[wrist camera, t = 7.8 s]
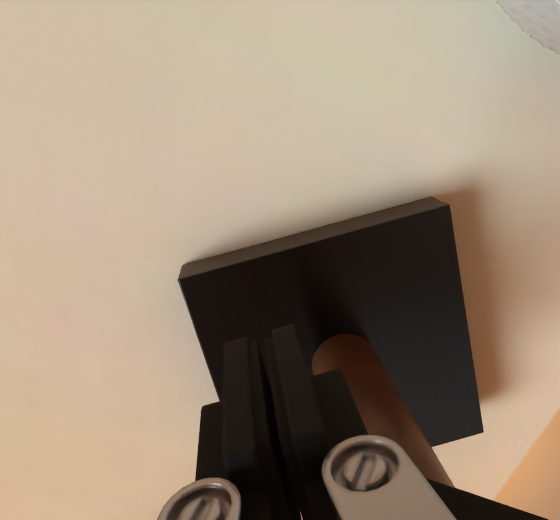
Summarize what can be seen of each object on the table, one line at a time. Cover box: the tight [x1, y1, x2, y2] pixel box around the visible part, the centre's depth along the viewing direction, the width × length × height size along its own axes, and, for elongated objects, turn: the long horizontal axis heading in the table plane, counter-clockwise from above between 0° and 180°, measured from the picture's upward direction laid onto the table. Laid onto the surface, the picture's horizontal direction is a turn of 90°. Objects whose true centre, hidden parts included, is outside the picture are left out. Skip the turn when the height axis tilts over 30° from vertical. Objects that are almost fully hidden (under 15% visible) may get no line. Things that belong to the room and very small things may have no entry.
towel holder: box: [178, 197, 484, 488], centre depth 19 cm, size 18×12×12 cm
